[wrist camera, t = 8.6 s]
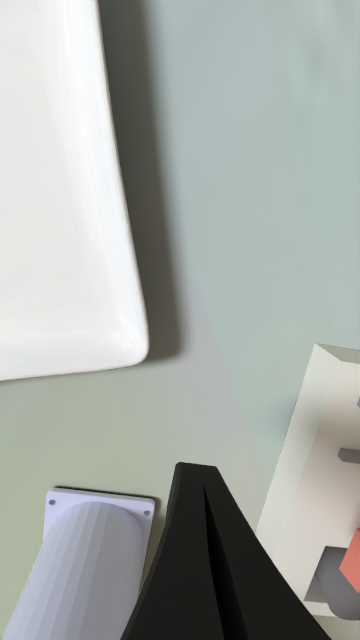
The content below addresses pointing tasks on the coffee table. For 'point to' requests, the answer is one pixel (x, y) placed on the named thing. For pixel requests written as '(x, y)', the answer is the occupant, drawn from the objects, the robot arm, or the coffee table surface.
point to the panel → (316, 475)
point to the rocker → (352, 561)
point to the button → (337, 584)
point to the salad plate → (62, 200)
